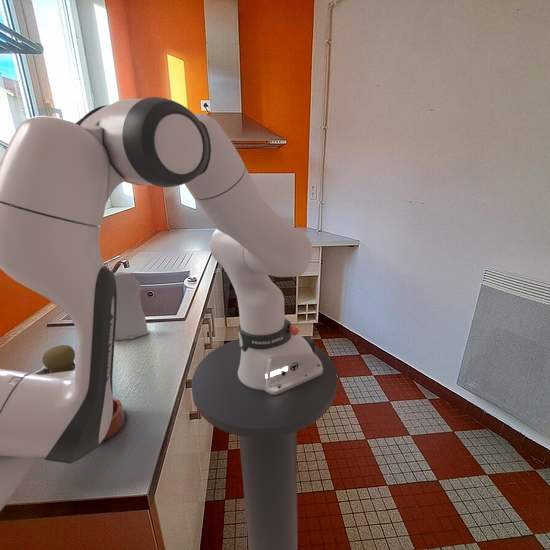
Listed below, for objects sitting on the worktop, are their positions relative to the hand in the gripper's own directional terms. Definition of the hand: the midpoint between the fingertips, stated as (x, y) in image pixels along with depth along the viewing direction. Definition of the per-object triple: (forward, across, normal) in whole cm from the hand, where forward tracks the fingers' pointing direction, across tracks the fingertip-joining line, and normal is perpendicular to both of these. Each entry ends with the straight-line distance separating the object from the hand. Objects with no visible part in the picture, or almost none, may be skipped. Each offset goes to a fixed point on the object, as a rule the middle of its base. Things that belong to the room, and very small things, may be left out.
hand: (64, 365), depth 61 cm
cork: (-1, 0, +7) cm, 7 cm away
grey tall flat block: (+35, -3, +14) cm, 38 cm away
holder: (-3, -5, +14) cm, 15 cm away
